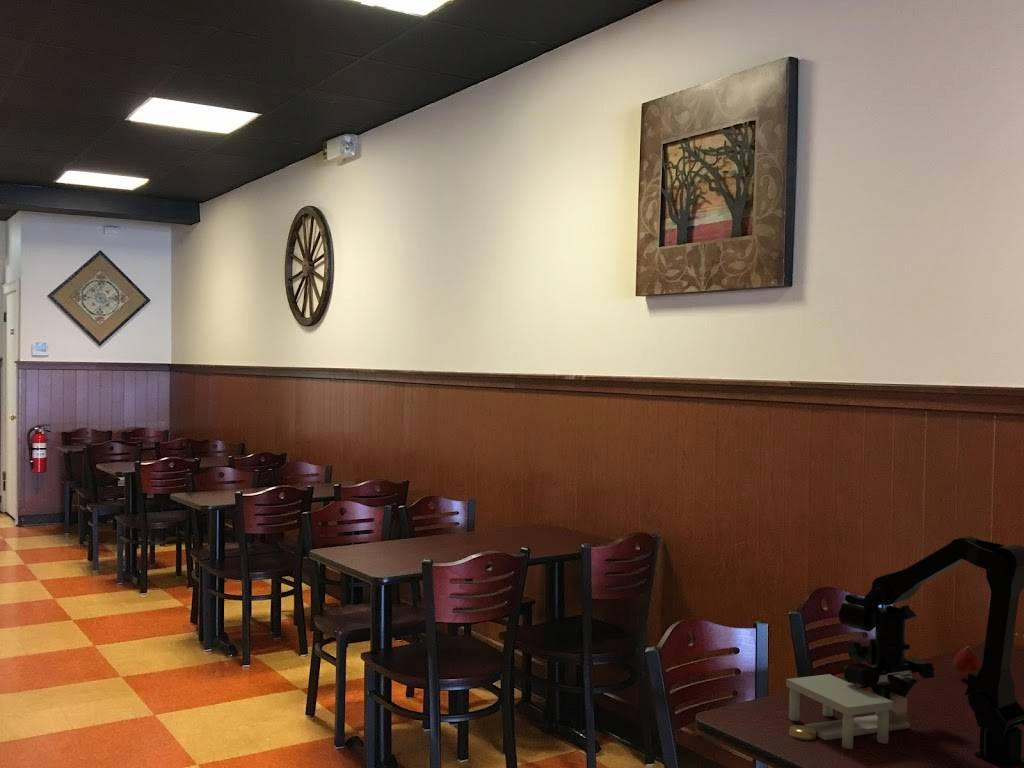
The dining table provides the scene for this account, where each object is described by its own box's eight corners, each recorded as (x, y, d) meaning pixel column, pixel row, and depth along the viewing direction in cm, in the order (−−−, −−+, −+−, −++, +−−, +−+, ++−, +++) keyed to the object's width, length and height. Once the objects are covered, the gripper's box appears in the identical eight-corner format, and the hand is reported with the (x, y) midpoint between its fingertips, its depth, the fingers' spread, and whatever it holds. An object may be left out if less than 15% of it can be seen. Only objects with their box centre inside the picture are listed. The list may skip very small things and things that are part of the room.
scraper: (909, 728, 196) (910, 698, 196) (825, 740, 188) (826, 709, 188) (887, 718, 201) (888, 689, 201) (804, 729, 193) (805, 699, 193)
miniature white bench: (892, 742, 187) (893, 701, 187) (846, 749, 183) (848, 707, 183) (828, 712, 204) (829, 674, 204) (785, 718, 200) (786, 679, 199)
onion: (947, 677, 231) (948, 643, 231) (964, 674, 233) (965, 641, 233) (968, 684, 225) (969, 650, 225) (985, 681, 228) (986, 647, 228)
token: (821, 737, 189) (821, 731, 189) (804, 742, 187) (804, 736, 187) (800, 729, 194) (800, 723, 194) (783, 734, 191) (784, 728, 191)
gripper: (896, 623, 209) (894, 695, 209) (826, 630, 202) (824, 705, 202) (936, 636, 199) (934, 713, 199) (864, 644, 192) (862, 723, 192)
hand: (888, 712), depth 198 cm, fingers closed on scraper, 2 cm apart
